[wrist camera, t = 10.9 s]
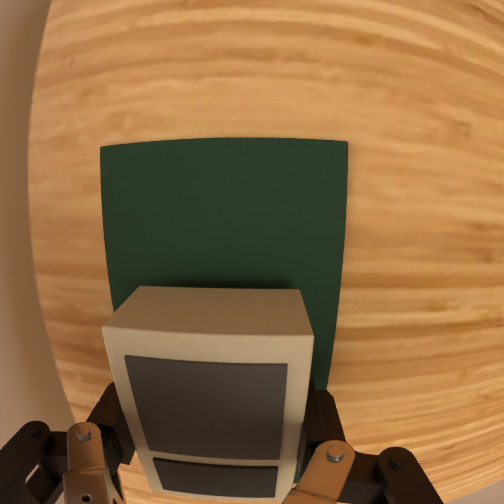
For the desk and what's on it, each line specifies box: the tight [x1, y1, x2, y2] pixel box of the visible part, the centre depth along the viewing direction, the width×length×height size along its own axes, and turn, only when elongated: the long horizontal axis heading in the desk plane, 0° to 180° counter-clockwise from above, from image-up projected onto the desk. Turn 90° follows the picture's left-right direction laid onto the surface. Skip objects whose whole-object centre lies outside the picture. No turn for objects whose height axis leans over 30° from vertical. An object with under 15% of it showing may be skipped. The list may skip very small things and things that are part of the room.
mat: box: [100, 138, 348, 483], centre depth 14 cm, size 20×10×1 cm, turn 0°
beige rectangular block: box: [101, 286, 314, 502], centre depth 11 cm, size 9×6×4 cm
